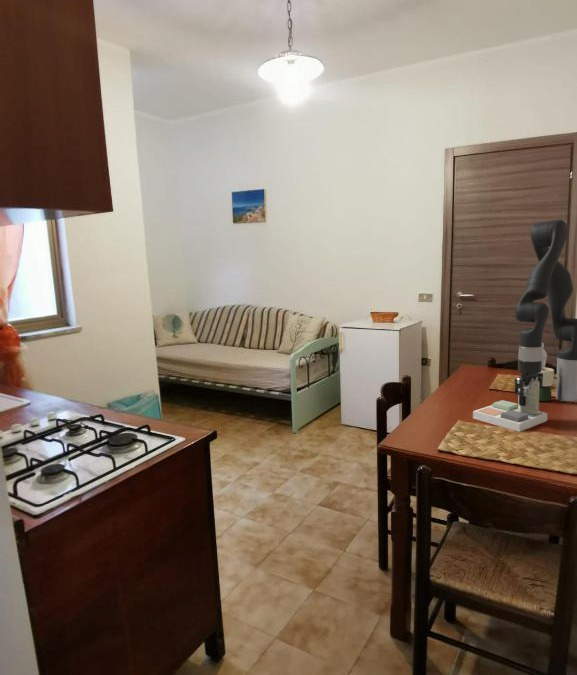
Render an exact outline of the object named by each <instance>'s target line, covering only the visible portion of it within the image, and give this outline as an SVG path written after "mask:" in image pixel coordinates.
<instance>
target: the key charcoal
mask: <svg viewBox="0 0 577 675" xmlns="http://www.w3.org/2000/svg"><path fill="white" fill-rule="evenodd" d="M501 418H504V419H508V420H511V421H515V422H521V421H524V420H526V419H528V414H525V413H521V412H517V411H513V410H510V411H507V412H504V413H501Z"/></svg>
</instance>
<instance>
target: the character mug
mask: <svg viewBox="0 0 577 675" xmlns="http://www.w3.org/2000/svg"><path fill="white" fill-rule="evenodd" d="M540 373H543V386H542V389H540V390H539V402H540V401H541V402H548V401H549V402H550V401H551V400H553V398H552V397H553V396H552V389H551V386H553V385H554V383H555V384H556V383H558V382H559V375H557V373H555V369H554V368H550V367H545V368H544V367H542V370H541V372H540ZM554 378H555V379H554ZM539 385H540V383H539Z"/></svg>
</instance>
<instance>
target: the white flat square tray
mask: <svg viewBox="0 0 577 675" xmlns="http://www.w3.org/2000/svg"><path fill="white" fill-rule="evenodd" d="M486 408H491V409H495V410H499V411H503V412H507V411H505V410H501V409H497V408H494V407H493V404H491V405H488V406H485V407H482V408H479V409H475V410H473V411H472V419H474V420H477V421H481V422H484V423H488V424H491V425H495V426H498V427H502V428H505V429H508V430H511V431H515V430H516V431H515V432H518V431H519V432H523V431H526V430H528V429H530V428H532V427H536V426H537V425H540V424H543V423H545V422H547V421H548V412H543V411H540V410H539V412H540V413H542V414H540V415H537V416H534V417H529V416H528V419H526V420H524V421H521V422H515V421H511V420H508V419H504V418H501V414H499V415H496V416H493V415H489V414H485V413H482V412H479V411H480V410H483V409H486ZM513 411H518V408H516V409H514V410H513ZM519 432H518V433H519Z"/></svg>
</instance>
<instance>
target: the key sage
mask: <svg viewBox="0 0 577 675" xmlns="http://www.w3.org/2000/svg"><path fill="white" fill-rule="evenodd" d="M492 405H493V407H494V408H497V409H501V410H505V411H510V410H514V409H516V408H518V403H516V402H512V401H507V400H503V399H501V400H498V401H495V402H493V403H492Z"/></svg>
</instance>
